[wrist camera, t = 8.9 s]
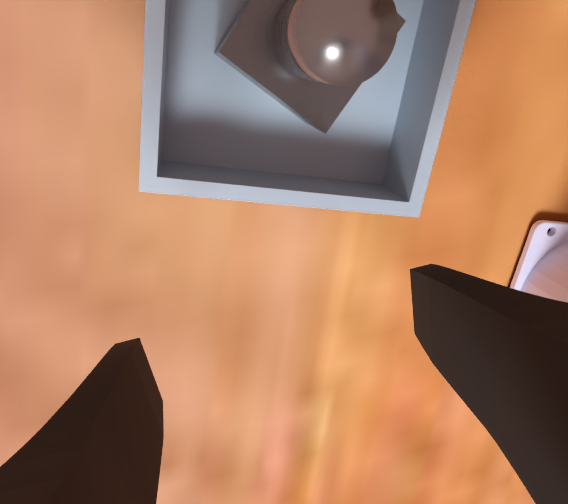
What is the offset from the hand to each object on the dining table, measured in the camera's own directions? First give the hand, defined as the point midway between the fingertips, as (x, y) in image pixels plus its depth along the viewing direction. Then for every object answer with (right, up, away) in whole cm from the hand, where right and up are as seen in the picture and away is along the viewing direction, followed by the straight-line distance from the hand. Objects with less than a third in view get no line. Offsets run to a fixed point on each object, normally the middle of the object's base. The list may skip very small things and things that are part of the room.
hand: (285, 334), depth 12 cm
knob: (0, +11, +7) cm, 13 cm away
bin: (0, +10, +7) cm, 13 cm away
